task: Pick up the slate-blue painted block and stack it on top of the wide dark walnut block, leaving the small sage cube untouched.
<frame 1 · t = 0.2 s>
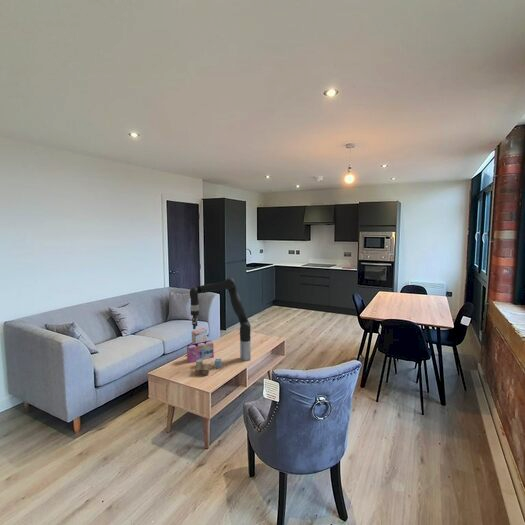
hand: (195, 327, 282), 29 cm above the table, fingers open, 8 cm apart
sage cube: (199, 366, 270), on the table
blue block: (218, 366, 269), on the table
gum box: (200, 358, 286), on the table
cracker box: (199, 351, 302), on the table
walnut block: (202, 373, 258), on the table
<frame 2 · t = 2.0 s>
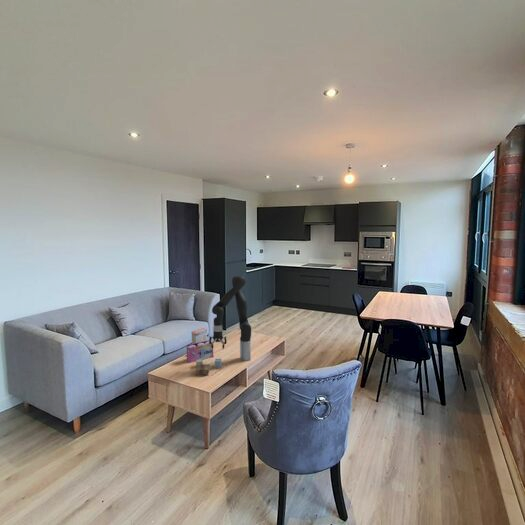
hand: (217, 348, 267), 16 cm above the table, fingers open, 8 cm apart
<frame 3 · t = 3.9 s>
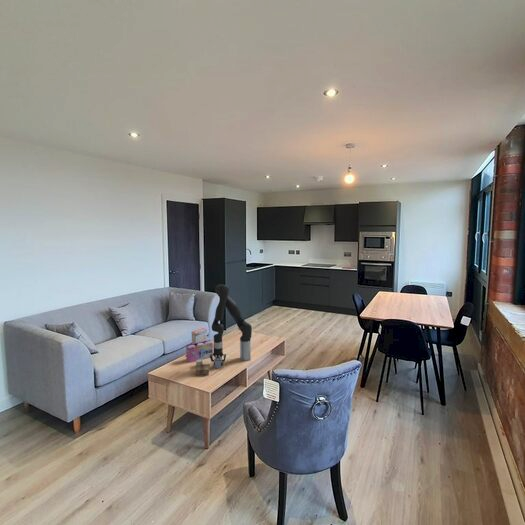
hand: (218, 366, 269), 1 cm above the table, fingers closed on blue block, 5 cm apart
blue block: (218, 366, 269), on the table, touching gripper
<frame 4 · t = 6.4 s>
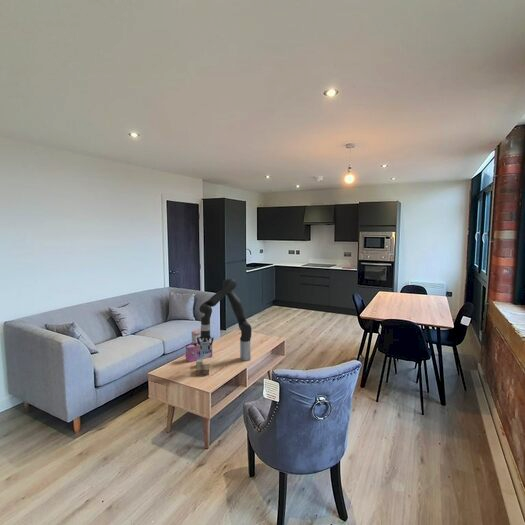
hand: (205, 349, 259), 18 cm above the table, fingers closed on blue block, 5 cm apart
blue block: (205, 350, 259), point 18 cm above the table, touching gripper
when the fingers open (7 cm above the table, at t = 9.1 s): blue block drops 2 cm, resting on walnut block.
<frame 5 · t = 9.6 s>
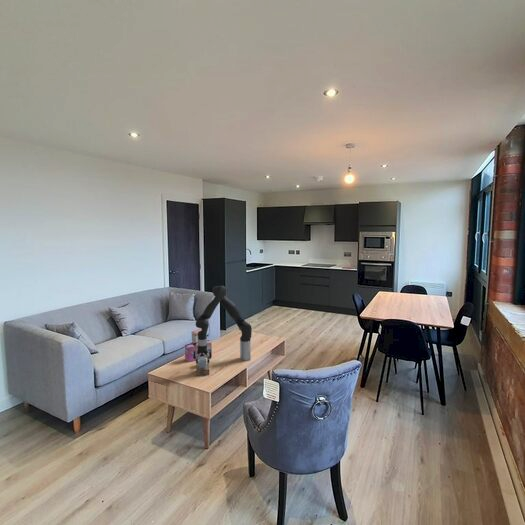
hand: (202, 363, 257), 8 cm above the table, fingers open, 8 cm apart
blue block: (202, 367, 258), point 5 cm above the table, touching walnut block
walnut block: (202, 373, 258), on the table, touching blue block
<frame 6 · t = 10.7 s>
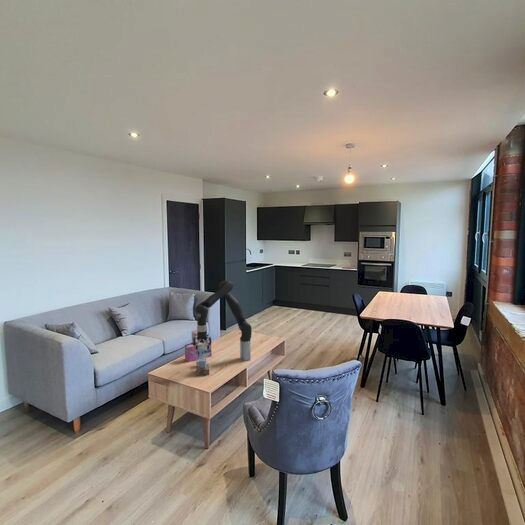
hand: (202, 349, 256), 19 cm above the table, fingers open, 8 cm apart
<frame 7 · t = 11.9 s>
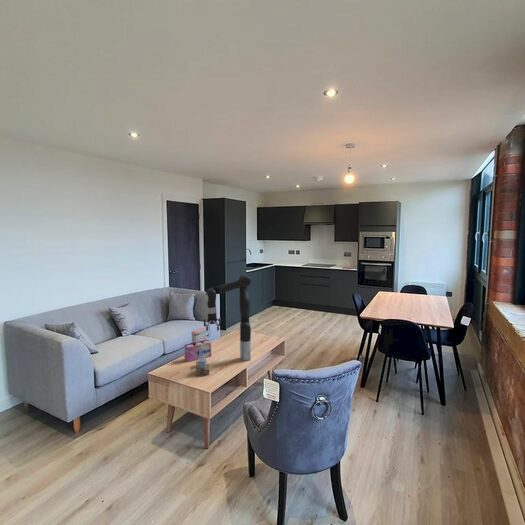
hand: (212, 330, 271), 30 cm above the table, fingers open, 8 cm apart
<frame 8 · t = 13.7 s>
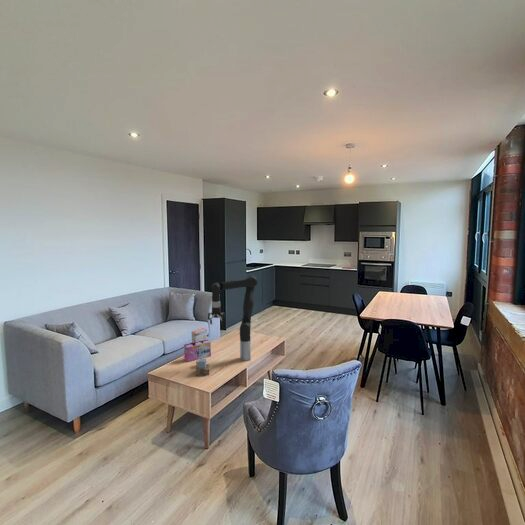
hand: (216, 324, 277), 33 cm above the table, fingers open, 8 cm apart
at the end: blue block inside the target area on the walnut block (0.3 cm from its centre), point 5.0 cm above the walnut block's base; blue block tilted 0°; the gripper is holding nothing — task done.
